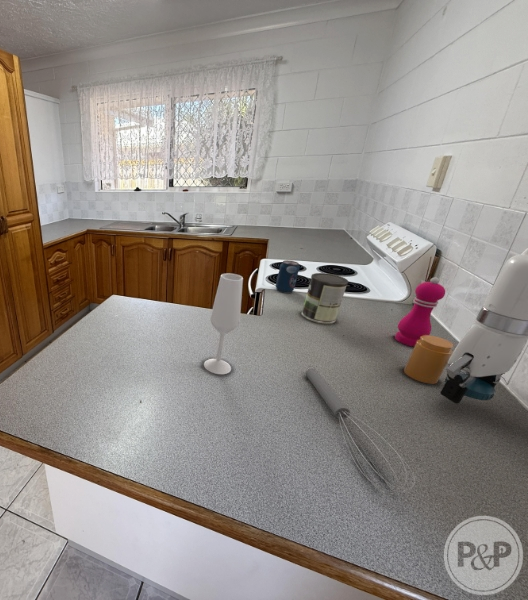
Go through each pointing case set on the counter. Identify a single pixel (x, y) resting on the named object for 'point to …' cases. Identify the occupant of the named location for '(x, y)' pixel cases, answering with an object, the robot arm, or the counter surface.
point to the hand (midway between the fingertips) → (463, 395)
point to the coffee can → (324, 297)
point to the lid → (478, 389)
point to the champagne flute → (225, 316)
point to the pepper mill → (420, 313)
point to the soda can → (287, 276)
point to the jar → (428, 359)
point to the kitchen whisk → (343, 413)
